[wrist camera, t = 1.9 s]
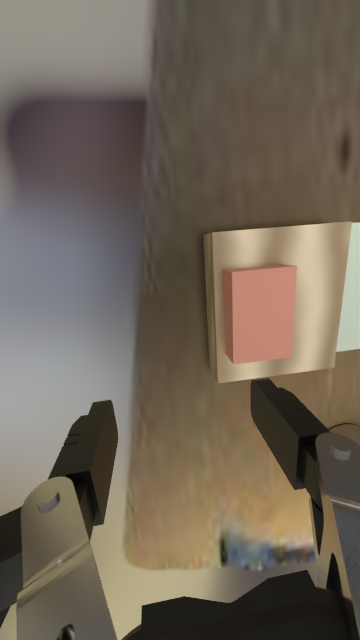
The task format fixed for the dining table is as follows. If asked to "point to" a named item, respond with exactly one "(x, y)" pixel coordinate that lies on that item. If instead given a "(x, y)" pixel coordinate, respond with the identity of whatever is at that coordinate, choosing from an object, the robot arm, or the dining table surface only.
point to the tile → (259, 312)
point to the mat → (351, 297)
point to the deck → (310, 296)
